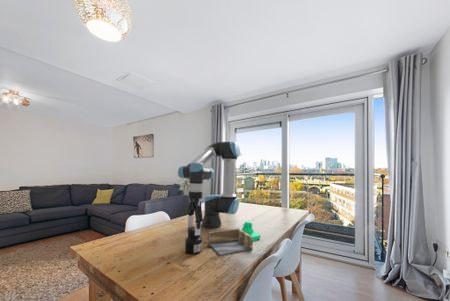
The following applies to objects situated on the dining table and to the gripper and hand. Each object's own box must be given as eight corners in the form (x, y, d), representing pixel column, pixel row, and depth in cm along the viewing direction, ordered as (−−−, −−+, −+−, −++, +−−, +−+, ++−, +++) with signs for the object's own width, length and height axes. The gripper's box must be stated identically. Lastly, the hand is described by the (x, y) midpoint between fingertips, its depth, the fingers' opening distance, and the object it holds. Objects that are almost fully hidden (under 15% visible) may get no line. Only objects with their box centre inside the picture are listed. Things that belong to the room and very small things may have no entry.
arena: (208, 244, 117) (209, 232, 117) (238, 239, 125) (238, 228, 126) (219, 255, 102) (219, 241, 103) (252, 249, 111) (252, 236, 111)
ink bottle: (198, 256, 101) (199, 232, 102) (182, 254, 103) (183, 230, 104) (203, 248, 111) (204, 226, 112) (188, 246, 112) (189, 225, 113)
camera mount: (248, 243, 121) (248, 225, 121) (239, 239, 126) (239, 222, 127) (261, 239, 128) (261, 222, 129) (252, 235, 134) (252, 220, 135)
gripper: (183, 188, 119) (181, 225, 117) (195, 194, 96) (193, 239, 94) (195, 188, 122) (193, 224, 120) (210, 193, 100) (208, 237, 98)
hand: (193, 231), depth 107 cm, fingers open, 13 cm apart
